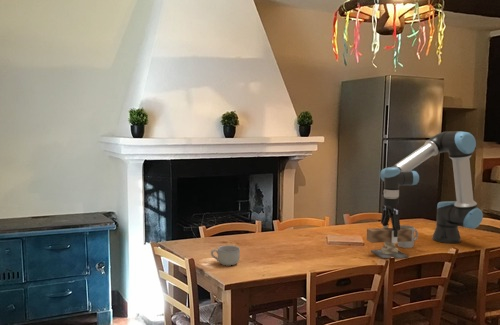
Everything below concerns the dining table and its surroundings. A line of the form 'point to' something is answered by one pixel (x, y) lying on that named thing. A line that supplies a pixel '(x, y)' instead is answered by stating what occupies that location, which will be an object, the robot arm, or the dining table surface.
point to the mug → (410, 243)
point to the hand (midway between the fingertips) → (389, 240)
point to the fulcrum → (389, 251)
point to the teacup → (227, 254)
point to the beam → (388, 235)
